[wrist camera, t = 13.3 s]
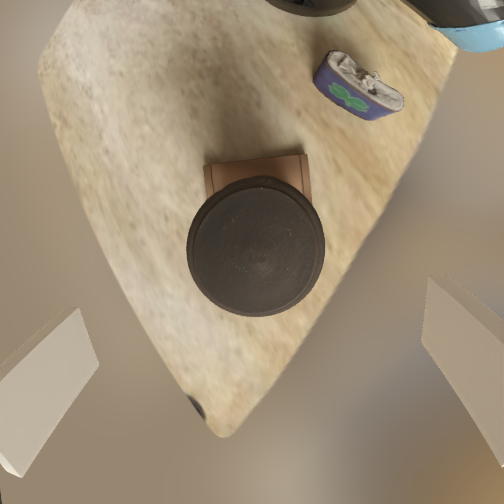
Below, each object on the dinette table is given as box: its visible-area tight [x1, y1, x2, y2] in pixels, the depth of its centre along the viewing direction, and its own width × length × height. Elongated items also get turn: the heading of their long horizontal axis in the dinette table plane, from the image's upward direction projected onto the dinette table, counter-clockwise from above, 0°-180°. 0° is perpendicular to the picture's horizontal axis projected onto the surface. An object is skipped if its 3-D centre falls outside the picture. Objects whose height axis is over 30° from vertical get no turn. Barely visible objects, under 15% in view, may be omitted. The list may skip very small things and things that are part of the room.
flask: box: [313, 50, 404, 121], centre depth 30 cm, size 9×3×11 cm, turn 58°
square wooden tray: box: [203, 154, 312, 204], centre depth 38 cm, size 12×12×2 cm
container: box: [186, 175, 325, 317], centre depth 28 cm, size 9×9×20 cm
